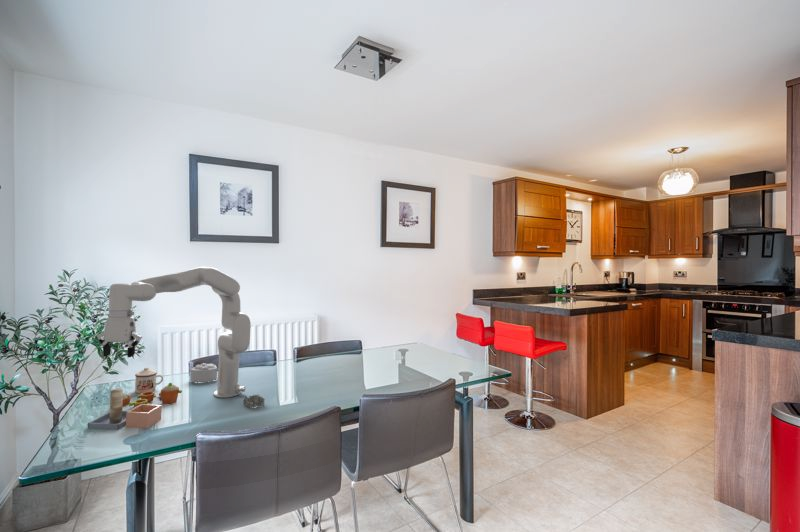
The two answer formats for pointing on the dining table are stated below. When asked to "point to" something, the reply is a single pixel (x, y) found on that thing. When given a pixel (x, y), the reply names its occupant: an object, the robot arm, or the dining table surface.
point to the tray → (107, 422)
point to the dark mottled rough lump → (254, 401)
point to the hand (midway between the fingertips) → (118, 356)
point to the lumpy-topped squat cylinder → (203, 373)
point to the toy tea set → (166, 394)
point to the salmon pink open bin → (143, 416)
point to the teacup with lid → (146, 380)
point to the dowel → (116, 406)
